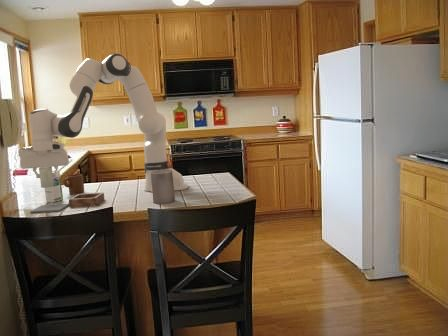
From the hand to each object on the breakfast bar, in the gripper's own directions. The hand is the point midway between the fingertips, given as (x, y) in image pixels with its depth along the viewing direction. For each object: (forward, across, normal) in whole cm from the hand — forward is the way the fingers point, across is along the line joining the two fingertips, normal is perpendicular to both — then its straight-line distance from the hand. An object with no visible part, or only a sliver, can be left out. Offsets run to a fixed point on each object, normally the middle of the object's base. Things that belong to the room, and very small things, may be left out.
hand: (46, 177), depth 219 cm
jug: (+4, 0, 0) cm, 4 cm away
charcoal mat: (+14, 0, 0) cm, 15 cm away
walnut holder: (+14, +16, +5) cm, 22 cm away
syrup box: (+15, 0, +20) cm, 24 cm away
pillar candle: (+14, +50, -10) cm, 53 cm away
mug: (+15, +7, +34) cm, 38 cm away
